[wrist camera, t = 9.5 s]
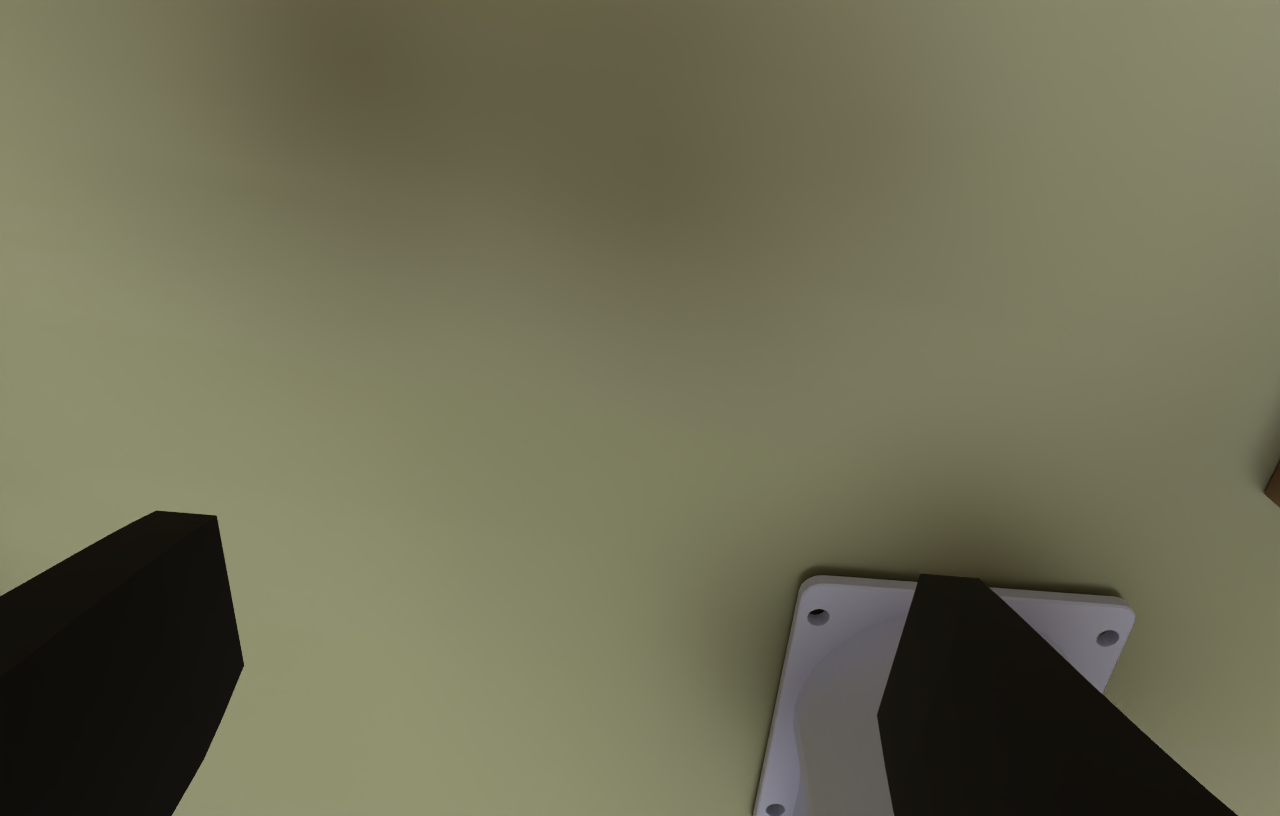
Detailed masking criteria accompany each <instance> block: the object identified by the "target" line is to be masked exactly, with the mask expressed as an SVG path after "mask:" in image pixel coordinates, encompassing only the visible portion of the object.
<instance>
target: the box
mask: <svg viewBox="0 0 1280 816" xmlns="http://www.w3.org/2000/svg"><path fill="white" fill-rule="evenodd" d="M1264 494H1265V495H1266V496H1267V497H1268V498H1270V499H1271V500H1272V501H1273V502H1274V503H1275V504H1276V505H1278V506H1279V507H1280V463H1279V465H1278V467H1277V469H1276V471H1275V473H1274V475H1273V477H1272V479H1271V481H1270V483H1269V485H1268V487H1267V489H1266V491H1265V493H1264Z"/></svg>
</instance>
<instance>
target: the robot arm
mask: <svg viewBox="0 0 1280 816" xmlns="http://www.w3.org/2000/svg"><path fill="white" fill-rule="evenodd" d="M815 609H823V610H825V611H824V612H822V613H820V614H816V615H813V614H810V612H811V611H813V610H815ZM1135 617H1136V616H1135V613H1134V611H1133V609H1132V608H1131V607H1130V605H1129V604H1128V603H1127V602H1126V601H1125V600H1124V599H1122V598H1119V597H1114V596H1100V595H1087V594H1073V593H1059V592H1046V591H1032V590H1018V589H1005V588H991V587H988V586H987V585H986V584H985V583H983V582H982V581H981V580H980V579H978V578H966V577H954V576H942V575H930V574H920V576H919V579H918V582H910V581H896V580H882V579H869V578H855V577H842V576H828V575H819V576H813V577H811V578H808V579H807V580H806V581H804V582H803V583H802V585H801V587H800V589H799V592H798V597H797V602H796V607H795V612H794V617H793V621H792V626H791V631H790V636H789V641H788V646H787V651H786V656H785V661H784V665H783V670H782V675H781V680H780V685H779V690H778V695H777V700H776V704H775V709H774V714H773V719H772V724H771V729H770V734H769V739H768V744H767V748H766V753H765V758H764V763H763V768H762V773H761V778H760V783H759V788H758V792H757V797H756V802H755V807H754V812H753V816H1238V815H1236V814H1235V813H1234V812H1233V811H1232V810H1231V809H1229V808H1228V807H1227V806H1226V805H1225V804H1224V803H1222V802H1221V801H1220V800H1219V799H1218V798H1216V797H1215V796H1214V795H1213V794H1212V793H1211V792H1209V791H1208V790H1207V789H1206V788H1205V787H1204V786H1203V785H1201V784H1200V783H1199V782H1198V781H1197V780H1196V779H1195V778H1194V777H1192V776H1191V775H1190V774H1189V773H1188V772H1187V771H1186V770H1185V769H1183V768H1182V767H1181V766H1180V765H1179V764H1178V763H1177V762H1176V761H1174V760H1173V759H1172V758H1171V757H1170V756H1169V755H1168V754H1167V753H1165V752H1164V751H1163V750H1162V749H1161V748H1160V747H1159V746H1158V745H1157V744H1156V743H1154V742H1153V741H1152V740H1151V739H1150V738H1149V737H1148V736H1147V735H1146V734H1145V733H1143V732H1142V731H1141V730H1140V729H1139V728H1138V727H1137V726H1136V725H1135V724H1134V723H1133V722H1132V721H1131V720H1129V719H1128V718H1127V717H1126V716H1125V715H1124V714H1123V713H1122V712H1121V711H1120V710H1119V709H1118V708H1116V707H1115V706H1114V705H1113V704H1112V703H1111V702H1110V701H1109V700H1108V699H1107V698H1106V697H1105V696H1104V695H1103V694H1102V693H1103V691H1104V689H1105V687H1106V685H1107V682H1108V680H1109V678H1110V676H1111V674H1112V671H1113V669H1114V667H1115V665H1116V662H1117V660H1118V658H1119V656H1120V654H1121V651H1122V649H1123V647H1124V645H1125V643H1126V640H1127V638H1128V636H1129V634H1130V632H1131V629H1132V627H1133V625H1134V623H1135ZM1108 630H1109V631H1108ZM1104 631H1108V632H1107V633H1105V634H1103V635H1099V634H1100V633H1102V632H1104ZM243 667H244V662H243V657H242V651H241V646H240V640H239V635H238V630H237V624H236V619H235V613H234V608H233V602H232V597H231V591H230V586H229V580H228V575H227V570H226V564H225V559H224V553H223V548H222V542H221V537H220V531H219V526H218V521H217V516H215V515H203V514H191V513H178V512H166V511H155V512H153V513H151V514H149V515H147V516H144V517H142V518H140V519H138V520H136V521H134V522H132V523H130V524H129V525H127V526H125V527H123V528H121V529H119V530H117V531H115V532H114V533H112V534H110V535H108V536H106V537H104V538H103V539H101V540H99V541H97V542H95V543H94V544H92V545H90V546H88V547H87V548H85V549H83V550H81V551H79V552H78V553H76V554H74V555H72V556H71V557H69V558H67V559H65V560H64V561H62V562H60V563H58V564H56V565H55V566H53V567H51V568H49V569H48V570H46V571H44V572H42V573H41V574H39V575H37V576H35V577H34V578H32V579H30V580H28V581H27V582H25V583H23V584H21V585H20V586H18V587H16V588H14V589H13V590H11V591H9V592H7V593H5V594H4V595H2V596H0V816H172V814H173V812H174V811H175V809H176V807H177V805H178V804H179V802H180V800H181V798H182V797H183V795H184V793H185V792H186V790H187V788H188V786H189V785H190V783H191V781H192V779H193V778H194V776H195V774H196V772H197V770H198V769H199V767H200V765H201V763H202V762H203V760H204V758H205V756H206V753H207V751H208V749H209V747H210V744H211V742H212V740H213V738H214V735H215V733H216V731H217V729H218V726H219V724H220V722H221V720H222V718H223V715H224V713H225V710H226V708H227V706H228V703H229V701H230V698H231V696H232V693H233V691H234V688H235V686H236V684H237V681H238V679H239V676H240V674H241V671H242V669H243Z"/></svg>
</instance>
